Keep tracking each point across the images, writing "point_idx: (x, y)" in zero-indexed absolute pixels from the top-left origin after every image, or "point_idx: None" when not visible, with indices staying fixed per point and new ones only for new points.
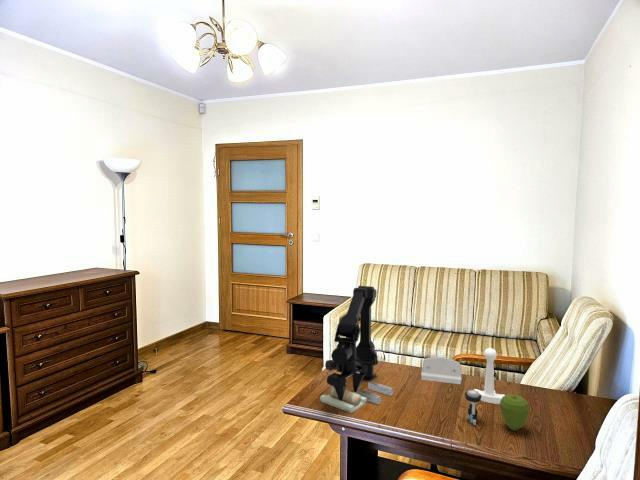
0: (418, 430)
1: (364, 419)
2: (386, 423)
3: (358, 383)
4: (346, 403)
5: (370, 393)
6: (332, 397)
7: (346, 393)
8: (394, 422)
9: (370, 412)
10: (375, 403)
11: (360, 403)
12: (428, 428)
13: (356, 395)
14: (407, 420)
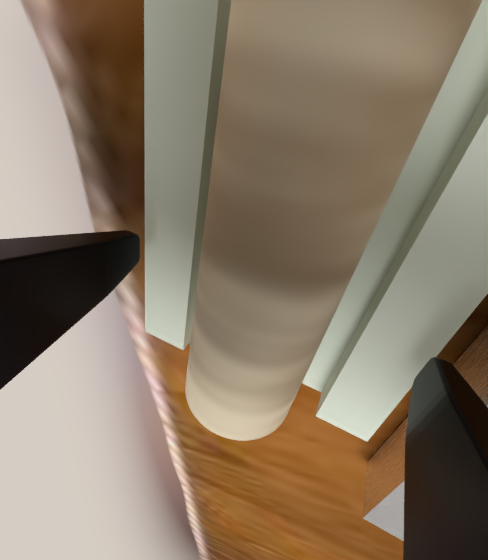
0: (206, 525)
1: (161, 376)
2: (187, 453)
3: (411, 557)
4: (179, 288)
5: None
6: None
7: (204, 316)
8: (212, 480)
9: None
10: (376, 454)
11: None
12: (234, 552)
13: (200, 418)
14: (253, 523)
